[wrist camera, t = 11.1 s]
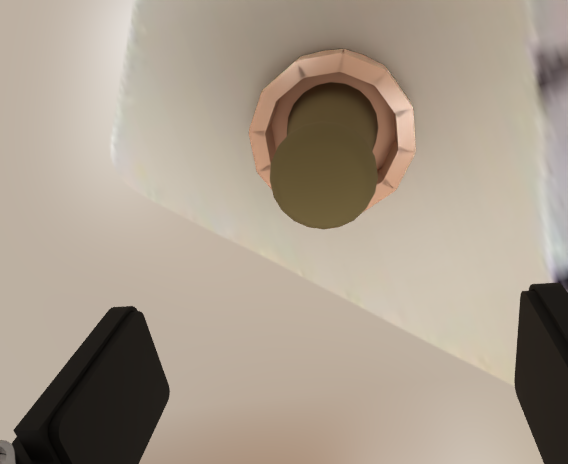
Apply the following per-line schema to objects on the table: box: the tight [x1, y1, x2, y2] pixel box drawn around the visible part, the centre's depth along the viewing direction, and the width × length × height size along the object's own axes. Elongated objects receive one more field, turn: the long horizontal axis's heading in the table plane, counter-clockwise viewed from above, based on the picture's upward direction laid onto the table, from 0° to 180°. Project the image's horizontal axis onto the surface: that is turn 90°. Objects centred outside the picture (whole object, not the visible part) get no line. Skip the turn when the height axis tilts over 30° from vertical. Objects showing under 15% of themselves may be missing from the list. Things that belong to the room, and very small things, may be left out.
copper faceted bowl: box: [249, 49, 416, 212], centre depth 30 cm, size 10×10×4 cm
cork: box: [270, 82, 378, 229], centre depth 26 cm, size 6×6×11 cm
